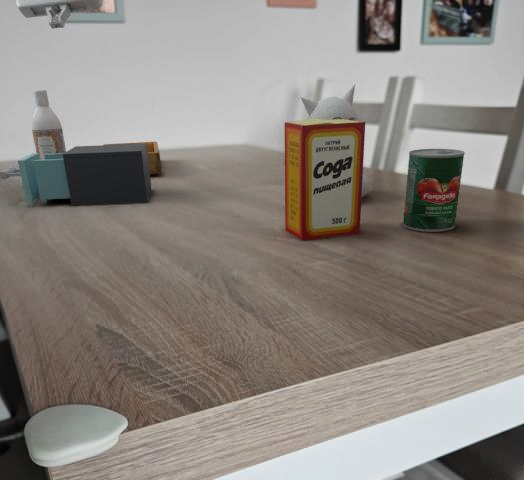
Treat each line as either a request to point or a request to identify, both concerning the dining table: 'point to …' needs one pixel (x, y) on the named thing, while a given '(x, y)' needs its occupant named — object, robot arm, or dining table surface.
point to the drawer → (41, 176)
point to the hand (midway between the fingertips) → (56, 26)
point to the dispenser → (108, 174)
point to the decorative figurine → (335, 115)
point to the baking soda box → (323, 177)
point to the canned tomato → (432, 189)
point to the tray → (150, 156)
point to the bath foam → (46, 127)
